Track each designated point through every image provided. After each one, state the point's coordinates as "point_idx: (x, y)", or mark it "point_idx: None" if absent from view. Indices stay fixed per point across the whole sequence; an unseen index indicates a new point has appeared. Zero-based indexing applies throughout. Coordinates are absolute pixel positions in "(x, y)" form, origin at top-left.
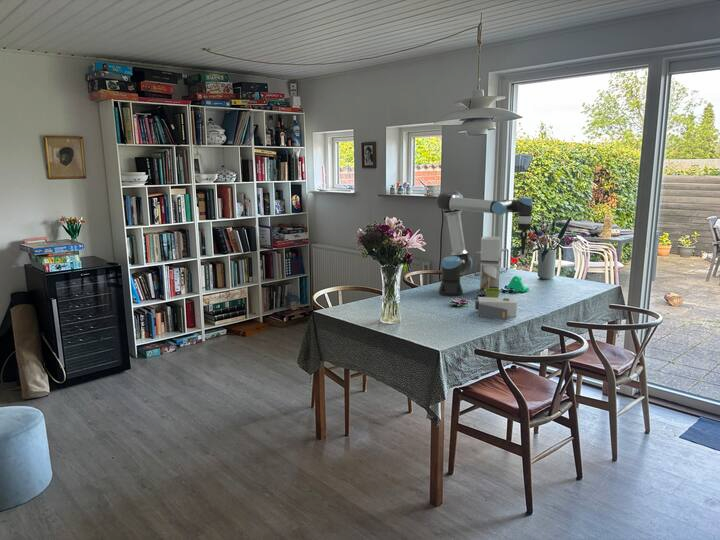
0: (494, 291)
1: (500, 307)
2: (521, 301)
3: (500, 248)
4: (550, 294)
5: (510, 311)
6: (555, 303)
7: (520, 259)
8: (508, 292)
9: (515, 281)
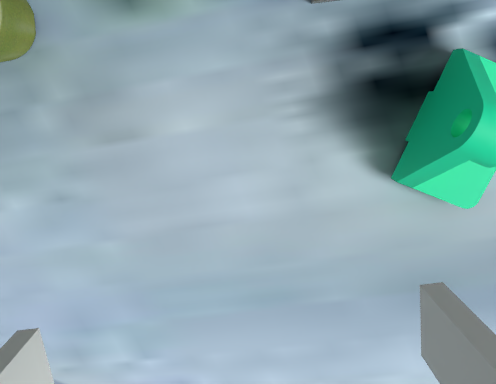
0: (3, 19)
1: None
2: (160, 197)
3: None
4: (400, 329)
5: None
6: (198, 372)
7: (16, 340)
8: (372, 75)
9: (452, 120)
